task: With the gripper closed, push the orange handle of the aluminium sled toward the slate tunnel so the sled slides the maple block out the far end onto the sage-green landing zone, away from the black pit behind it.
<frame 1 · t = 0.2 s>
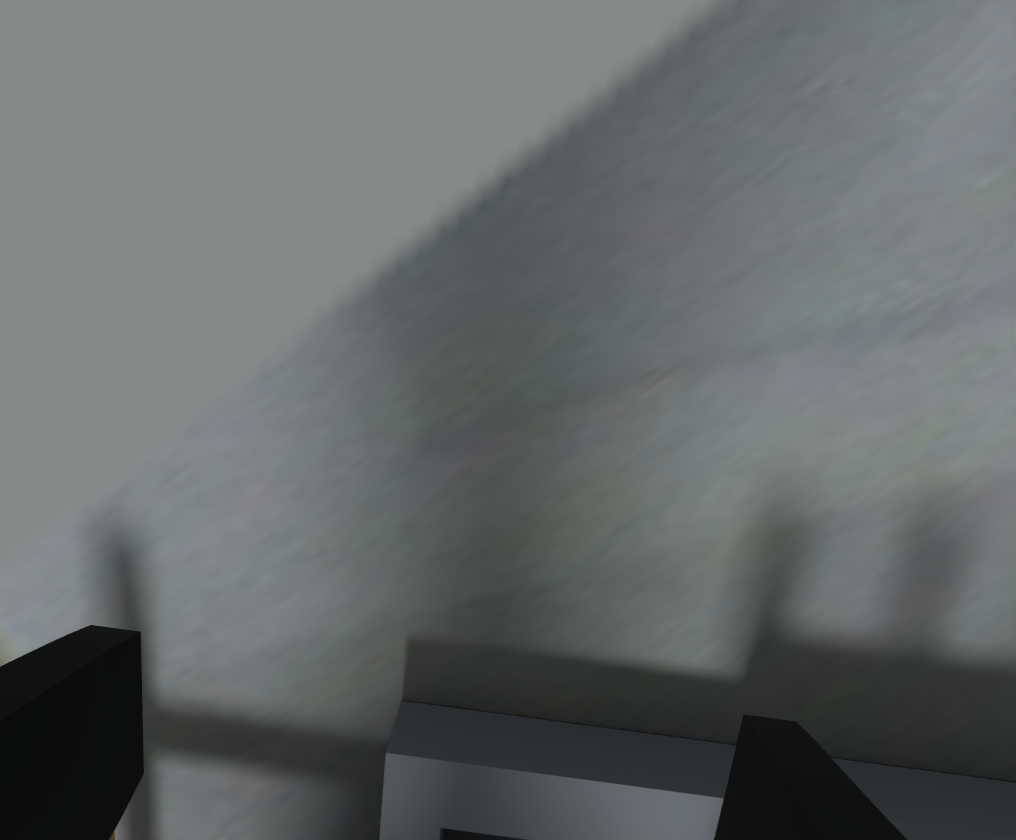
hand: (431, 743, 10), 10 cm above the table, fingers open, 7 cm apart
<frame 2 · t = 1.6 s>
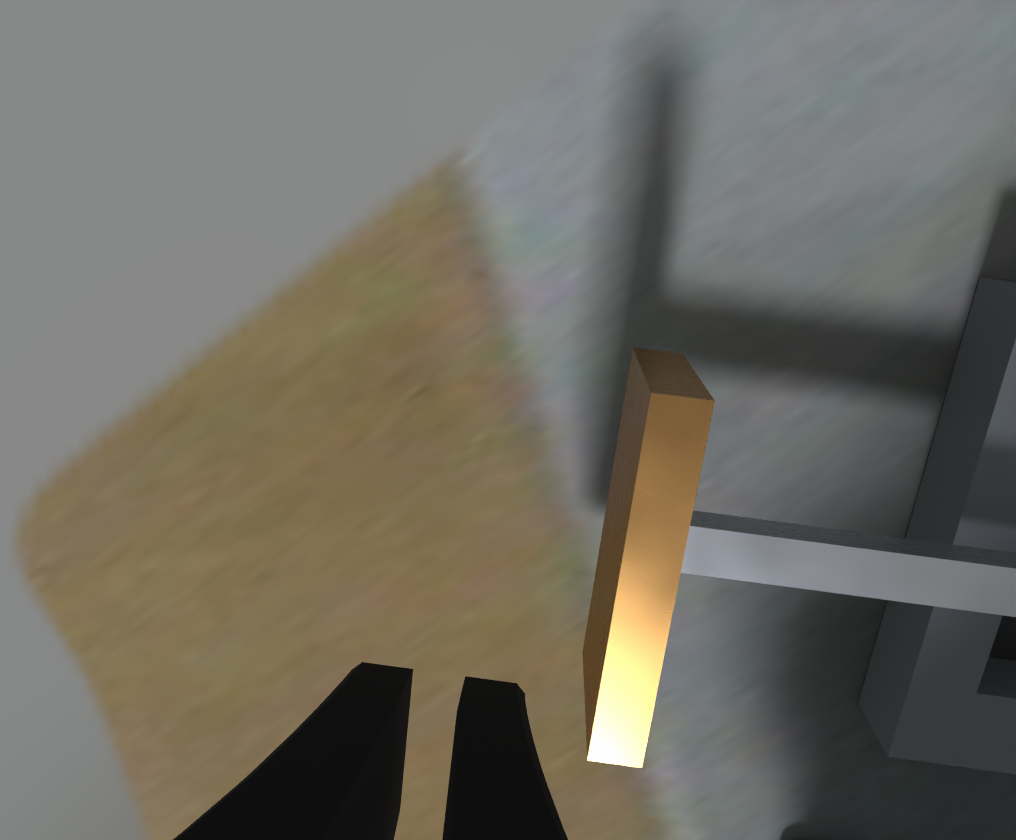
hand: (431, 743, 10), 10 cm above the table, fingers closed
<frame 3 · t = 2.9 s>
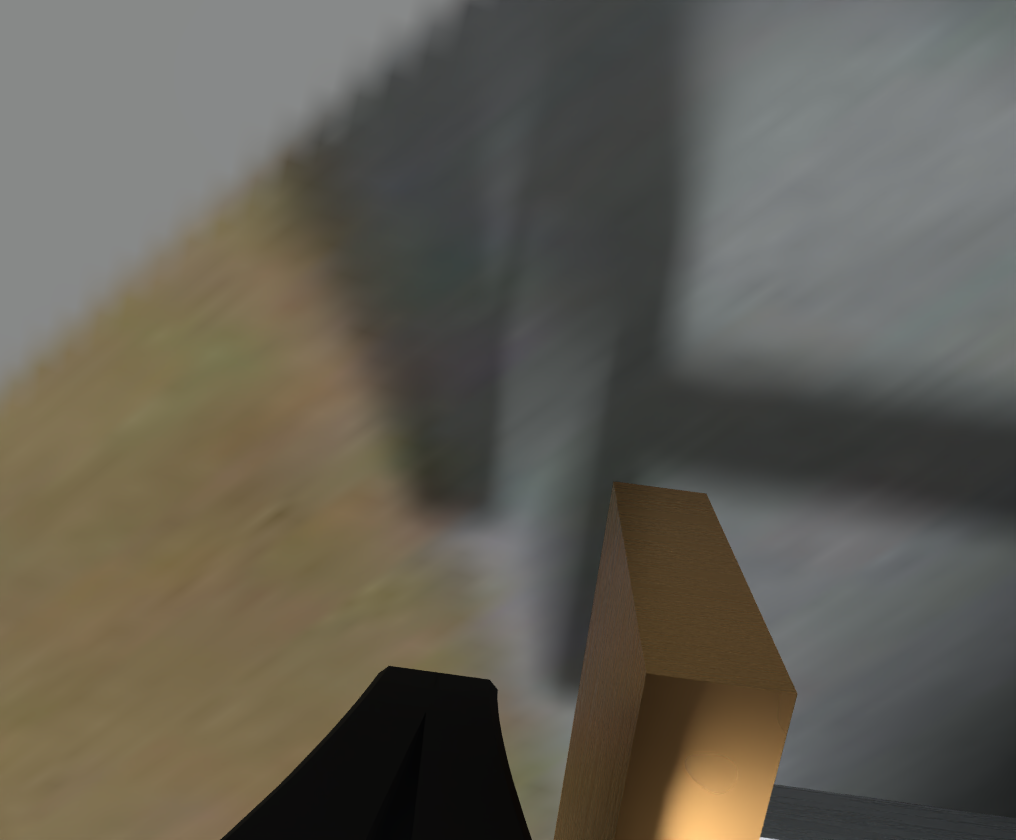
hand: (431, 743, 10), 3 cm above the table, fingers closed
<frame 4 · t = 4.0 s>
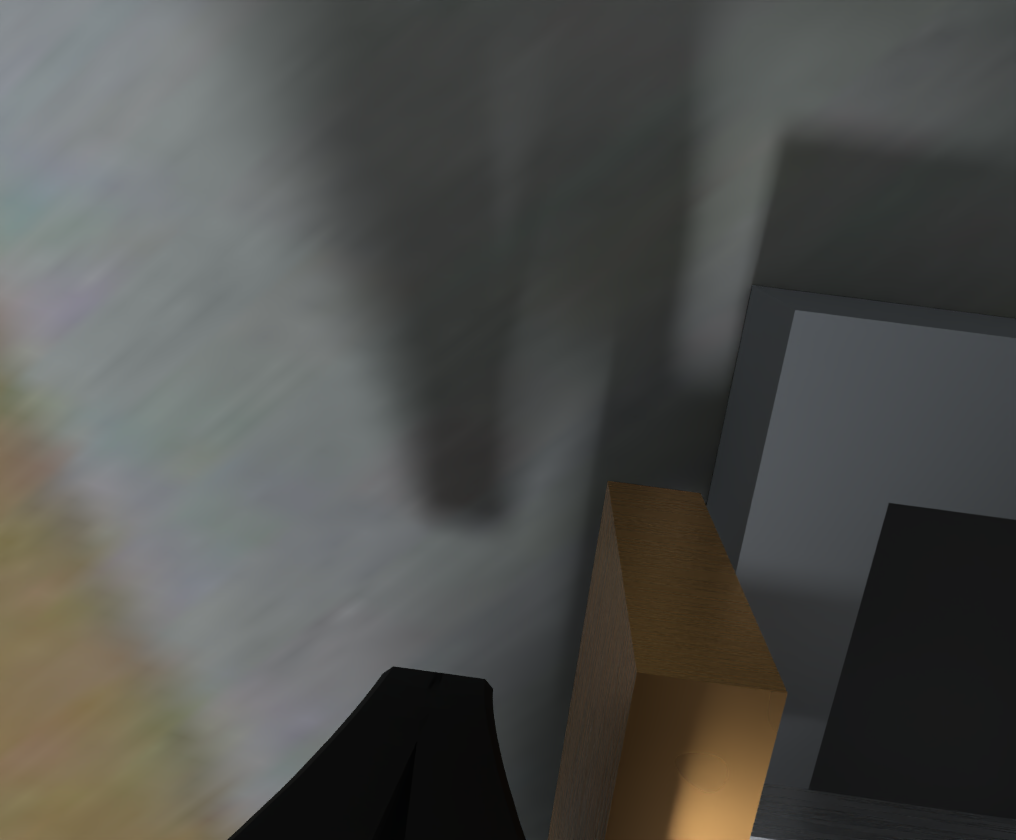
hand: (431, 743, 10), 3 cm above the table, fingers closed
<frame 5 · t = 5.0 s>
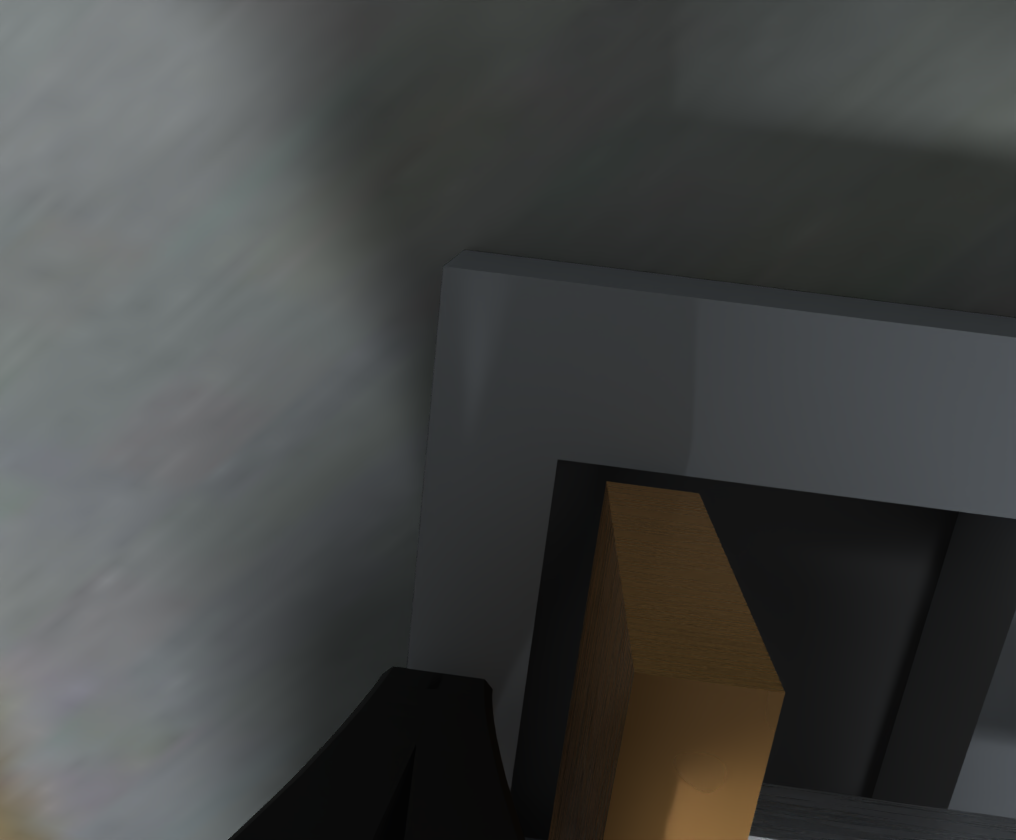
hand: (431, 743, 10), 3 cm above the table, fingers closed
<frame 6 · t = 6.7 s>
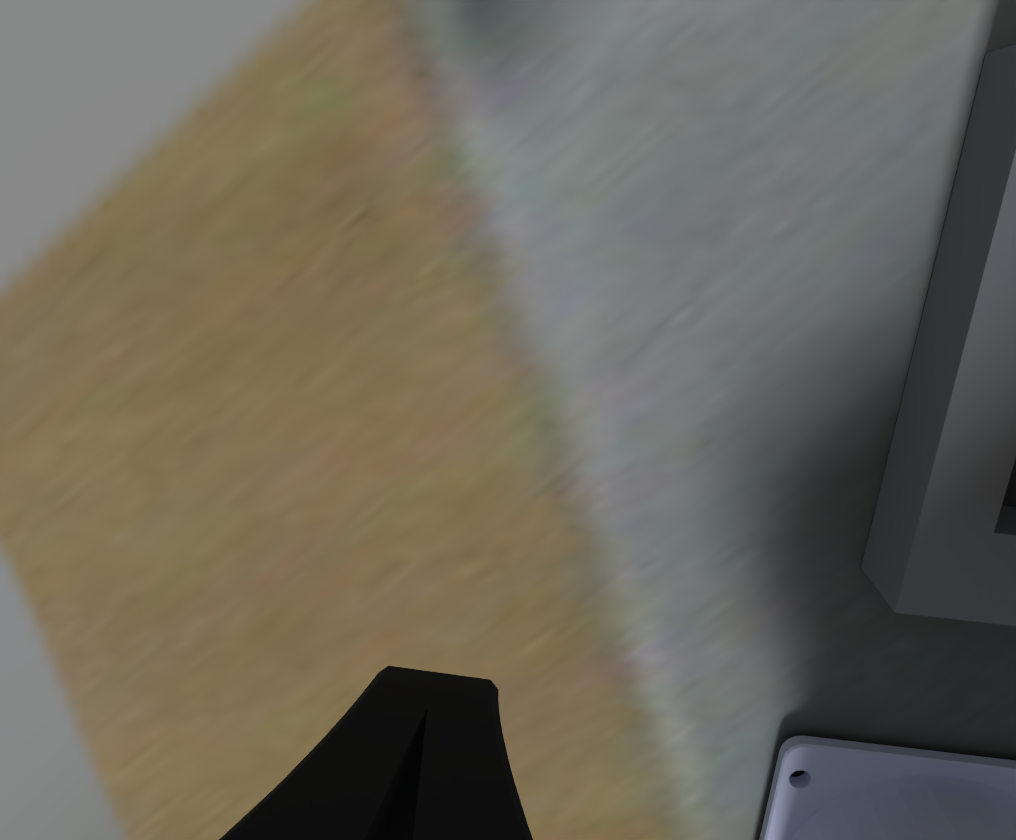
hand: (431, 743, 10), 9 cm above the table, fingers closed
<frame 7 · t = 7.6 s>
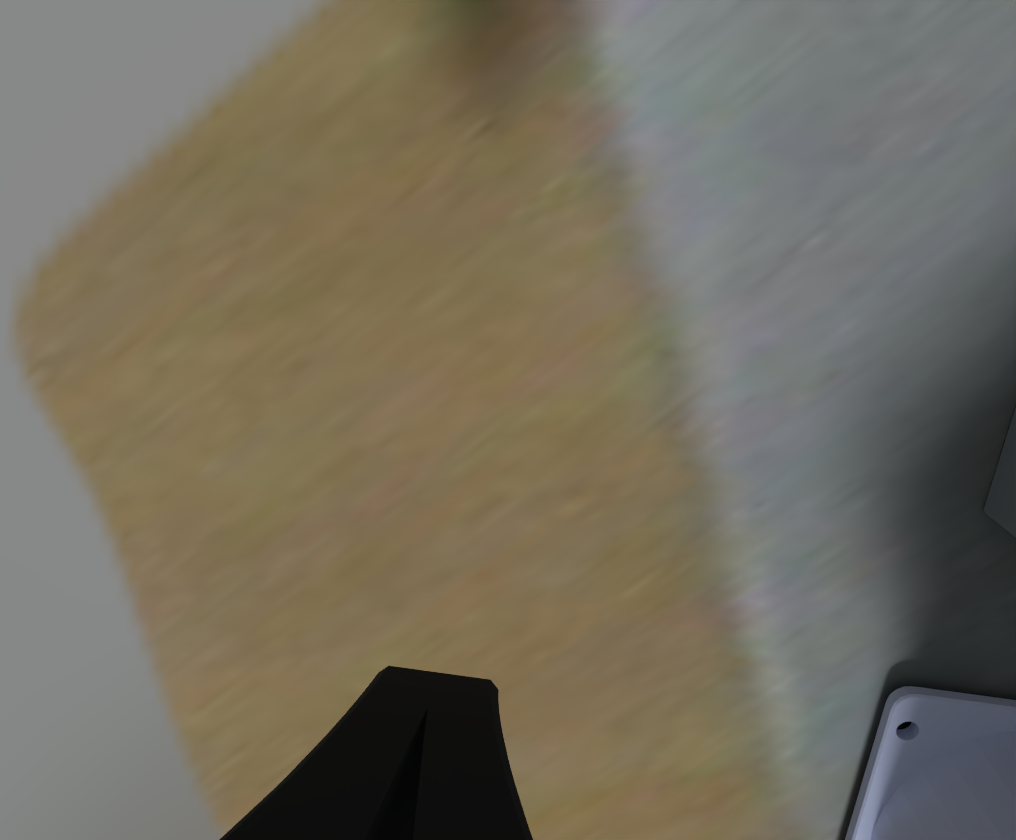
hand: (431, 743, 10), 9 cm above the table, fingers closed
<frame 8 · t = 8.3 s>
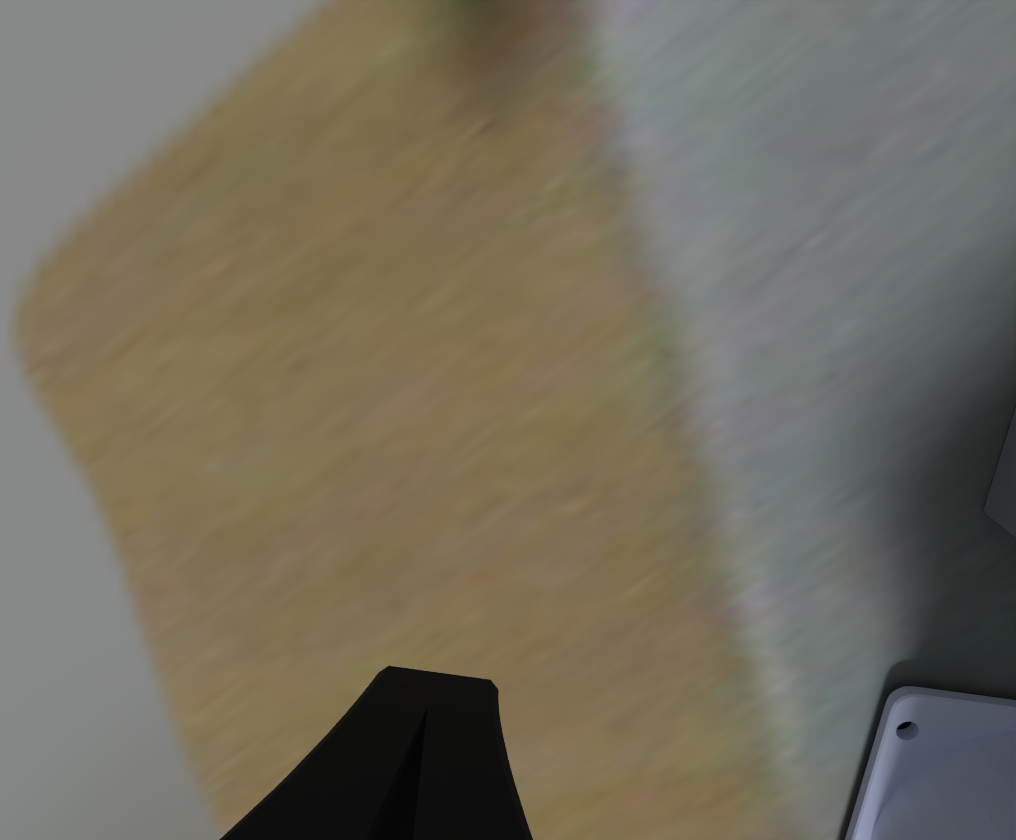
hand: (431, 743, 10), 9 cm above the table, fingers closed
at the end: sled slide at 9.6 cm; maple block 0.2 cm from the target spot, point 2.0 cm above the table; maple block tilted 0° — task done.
